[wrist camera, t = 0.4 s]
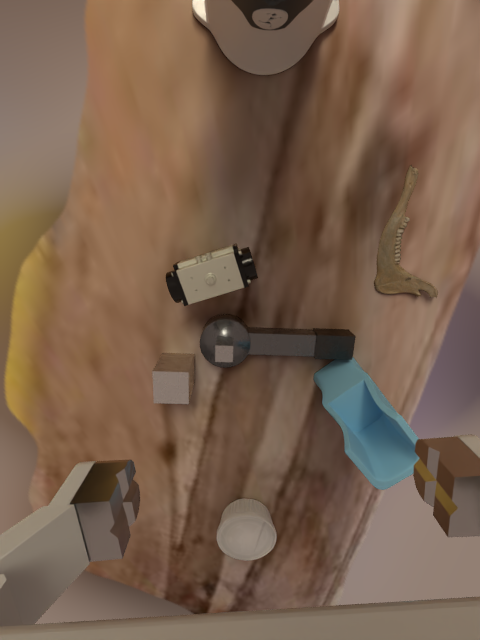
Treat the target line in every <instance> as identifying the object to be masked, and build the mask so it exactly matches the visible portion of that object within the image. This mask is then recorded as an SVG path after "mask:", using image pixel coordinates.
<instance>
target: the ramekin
mask: <svg viewBox="0 0 480 640" xmlns="http://www.w3.org/2000/svg"><path fill="white" fill-rule="evenodd" d="M276 539H277V534H276V529H275V527H274V525H273V522H272V519H271V516H270V513H269V511H268V509H267V508H266V506H264V505H263V504H262V503H261V502H259V501H257V500H254V499H249V498H243V499H238V500H236V501H234V502H232V503H230V504H229V505H228V506H227V507H226V508H225V510H224V512H223V514H222V517H221V521H220V525H219V527H218V530H217V543H218V546H219V547H220V549H221V550H222V551H223V552H224V553H225V554H226V555H228V556H230V557H232V558H234V559H238V560H246V561H249V560H255V559H258V558H261V557H263V556H265V555H266V554H268V553H269V552H270V551H271V550H272V549H273V547H274V546H275V543H276Z"/></svg>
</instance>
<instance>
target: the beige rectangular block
mask: <svg viewBox="0 0 480 640" xmlns="http://www.w3.org/2000/svg"><path fill="white" fill-rule="evenodd" d="M194 383H195V368H194V354H179V353H162V355H161V357H160V359H159V361H158V362H157V364H156V366H155V368H154V370H153V395H154V403H167V404H189V401H190V398H191V394H192V390H193V386H194Z"/></svg>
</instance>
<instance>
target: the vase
mask: <svg viewBox="0 0 480 640" xmlns="http://www.w3.org/2000/svg"><path fill="white" fill-rule="evenodd" d="M314 381H315V383H316V384H317V385H318V387H319V388H320V389H321V390H322V395H323V399H322V404H323V406H324V408H325V409H326V410H327V411H328V413H329V414H330V415H331V416H332V417H333V418H334V420H335V421H336V422H337V423H338V424H339V426H340V427H341V428H342V431H343V434H344V442H345V453H346V454H347V455H348V457H349V458H350V459H351V460H352V461H353V463H354V464H355V465H356V466H357V467H358V468H359V470H360V471H361V472H362V473H363V474H364V476H365V477H366V478H367V479H368V480H369V481H370V483H371V484H372V485H373V486H374V487H375V488H377V489H381V490H384V489H387V488H389V487H391V486H393V485H395V484H396V483H398V482H400V481H401V480H403V479H405V478H406V477H408V476H410V475H412V474H413V473H414V464H415V463H416V462H417V461H418V460H419V457H418V456H417V454H416V453H415V444H416V442H417V440H418V437H417V436H416V435H415V433H414V432H413V431H412V429H411V428H410V427H409V425H408V424H407V423H406V421H405V420H404V419H403V417H402V416H401V415H399V414H398V413H397V412H396V411H395V409H394V408H393V407H392V405H391V404H390V403H389V402H388V400H387V399H386V398H385V396H384V395H383V394H382V392H381V391H380V390H379V388H378V387H377V386H376V384H375V383H374V382H373V380H372V379H371V378H370V376H369V375H368V374H367V373H365V372H364V371H363V370H362V368H361V367H360V366H359V364H358V363H357V362H356V360H355V359H354V358H353V357H352V360H342V359H335V360H333V361H332V362H330V363H329V364H328V365H326V366H325V367H323V368H322V369H320V370H319V371H318V372H316V373H315V374H314Z"/></svg>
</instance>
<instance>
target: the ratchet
mask: <svg viewBox="0 0 480 640" xmlns="http://www.w3.org/2000/svg"><path fill="white" fill-rule="evenodd" d="M354 343H355V336H354V335H353V334H352V333H351V332H350V330H344V329H315V328H313V330H311V329H281V328H251V327H247V325H246V324H245V323H244V321H242V320H241V319H240V318H239V317H237V316H234V315H231V314H221V315H217V316H215V317H213V318H211V319H210V320H209V321H208V322H207V323H206V325H205V327H204V329H203V332H202V335H201V339H200V348H201V352H202V354H203V356H204V357H205V358H206V359H207V360H208V361H209V362H210V363H212V364H213V365H215V366H219V367H232V366H235V365H237V364H239V363H241V362H242V361H243V360H244V359H245V358H246V357H247V355H248V354H253V355H283V356H314V358H315V359H342V360H352V356H353V350H354Z"/></svg>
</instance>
